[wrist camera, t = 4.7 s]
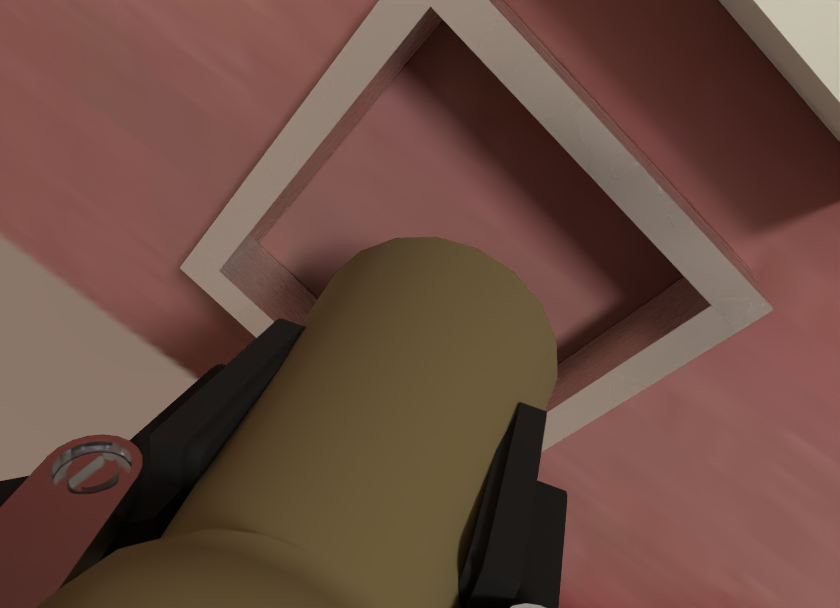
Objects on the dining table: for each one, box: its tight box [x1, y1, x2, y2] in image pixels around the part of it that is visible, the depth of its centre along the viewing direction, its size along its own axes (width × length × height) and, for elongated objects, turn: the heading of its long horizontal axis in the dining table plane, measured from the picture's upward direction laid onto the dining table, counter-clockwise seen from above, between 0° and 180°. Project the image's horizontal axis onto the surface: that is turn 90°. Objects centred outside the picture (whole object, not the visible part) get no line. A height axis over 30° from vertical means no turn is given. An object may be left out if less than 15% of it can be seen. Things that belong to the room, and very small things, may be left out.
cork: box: [37, 237, 558, 608], centre depth 10 cm, size 6×6×11 cm
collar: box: [180, 0, 774, 452], centre depth 18 cm, size 12×12×2 cm
